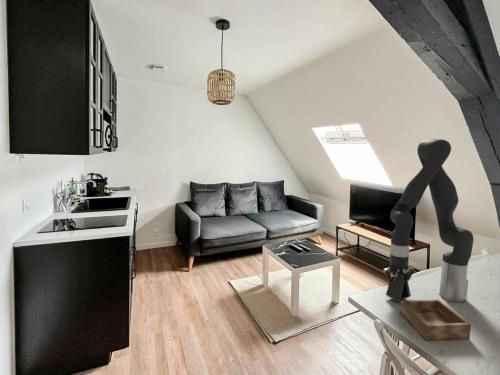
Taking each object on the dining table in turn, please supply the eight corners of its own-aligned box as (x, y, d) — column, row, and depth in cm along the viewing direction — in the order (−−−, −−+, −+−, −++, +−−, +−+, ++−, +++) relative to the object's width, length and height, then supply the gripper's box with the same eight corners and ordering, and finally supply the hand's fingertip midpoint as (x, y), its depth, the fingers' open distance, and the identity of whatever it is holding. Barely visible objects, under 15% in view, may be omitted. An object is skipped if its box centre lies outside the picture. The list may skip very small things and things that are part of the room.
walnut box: (437, 312, 111) (438, 299, 111) (469, 339, 96) (471, 324, 95) (399, 313, 111) (400, 300, 110) (426, 341, 95) (427, 326, 94)
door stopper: (397, 301, 117) (399, 276, 115) (385, 295, 122) (386, 270, 121) (410, 296, 121) (412, 271, 119) (398, 290, 126) (399, 266, 124)
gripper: (409, 249, 123) (407, 284, 125) (379, 250, 123) (378, 285, 125) (420, 255, 115) (417, 292, 118) (388, 257, 115) (386, 294, 118)
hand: (397, 288), depth 122 cm, fingers closed on door stopper, 2 cm apart
